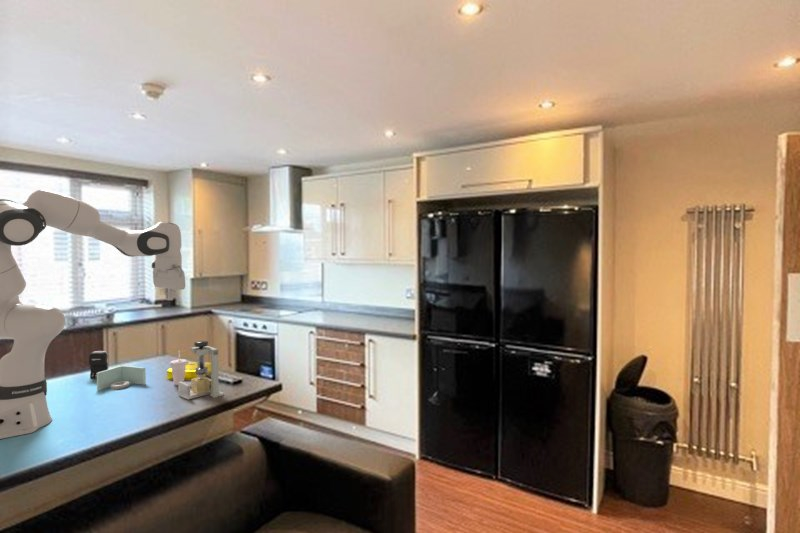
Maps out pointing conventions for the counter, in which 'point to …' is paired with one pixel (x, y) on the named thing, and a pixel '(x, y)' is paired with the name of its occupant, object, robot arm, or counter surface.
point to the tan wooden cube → (200, 384)
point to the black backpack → (98, 362)
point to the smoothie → (178, 369)
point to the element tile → (189, 371)
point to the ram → (201, 358)
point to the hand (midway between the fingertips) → (169, 299)
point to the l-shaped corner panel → (121, 377)
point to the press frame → (214, 367)
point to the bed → (190, 391)
